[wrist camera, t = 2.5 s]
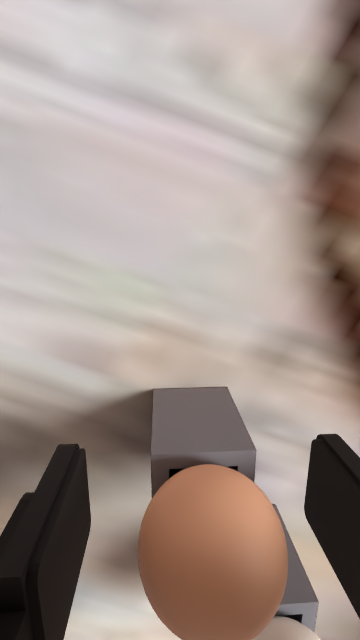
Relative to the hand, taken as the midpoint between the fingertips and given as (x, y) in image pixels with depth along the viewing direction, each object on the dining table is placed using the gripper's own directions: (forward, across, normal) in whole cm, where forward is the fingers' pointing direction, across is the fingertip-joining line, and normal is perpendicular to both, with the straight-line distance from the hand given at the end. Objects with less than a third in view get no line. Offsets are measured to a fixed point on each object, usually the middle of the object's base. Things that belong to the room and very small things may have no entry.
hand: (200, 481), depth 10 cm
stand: (+3, 0, 0) cm, 3 cm away
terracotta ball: (0, 0, 0) cm, 0 cm away
